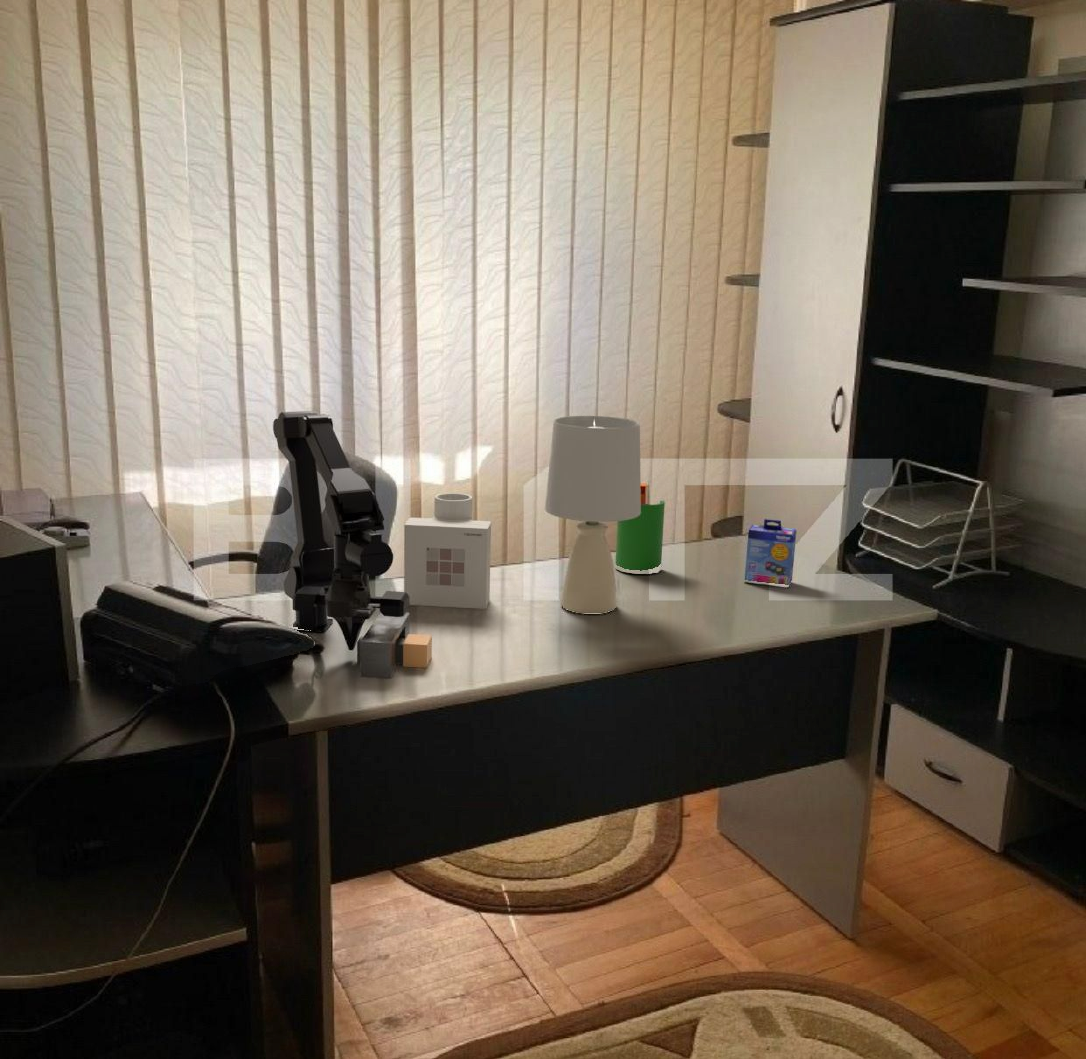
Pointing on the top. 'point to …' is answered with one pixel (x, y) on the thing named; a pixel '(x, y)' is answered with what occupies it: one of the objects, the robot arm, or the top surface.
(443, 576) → the white square bottle
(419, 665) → the plug
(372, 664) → the housing
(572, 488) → the lamp
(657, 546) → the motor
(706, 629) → the top surface
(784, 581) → the ink cartridge box
